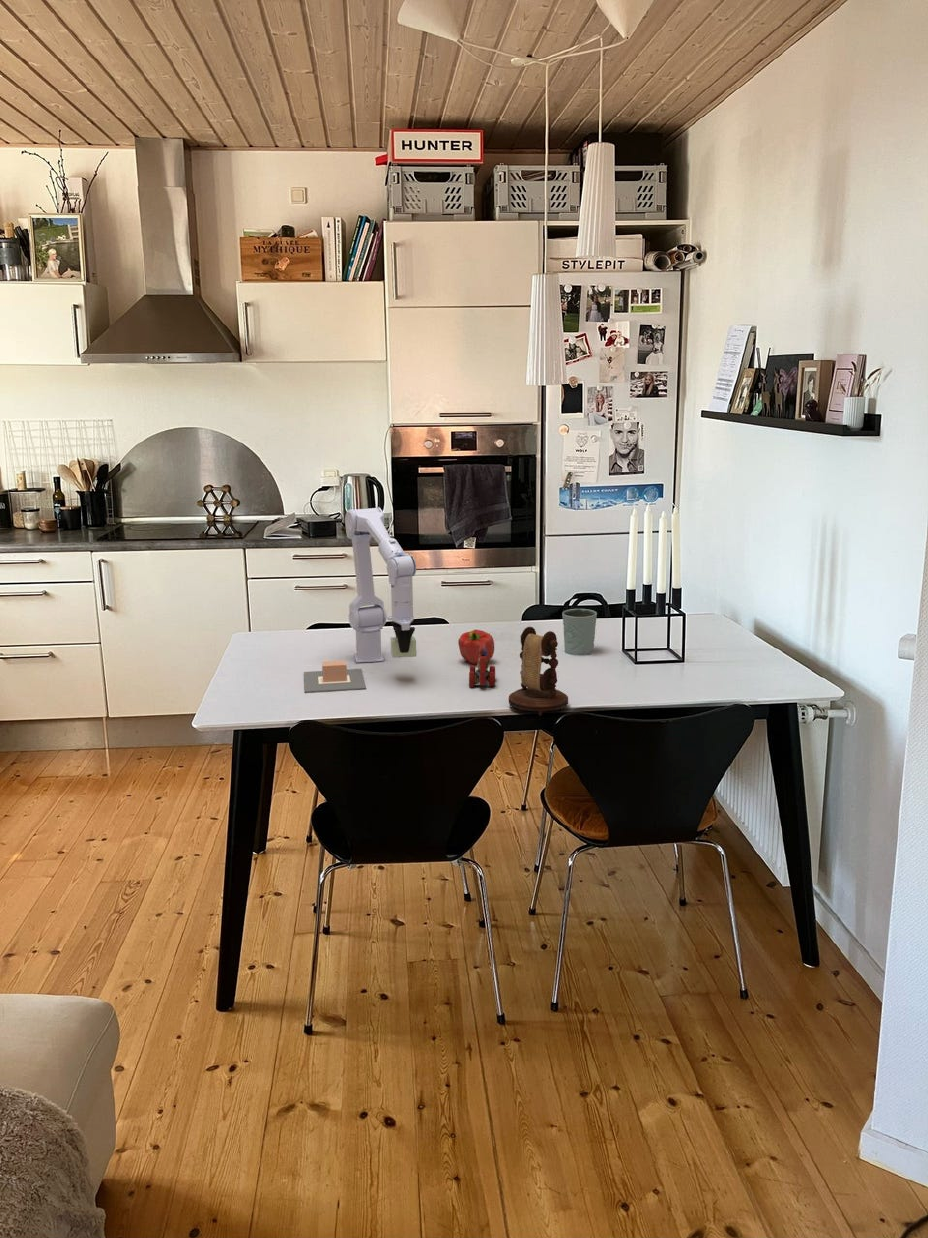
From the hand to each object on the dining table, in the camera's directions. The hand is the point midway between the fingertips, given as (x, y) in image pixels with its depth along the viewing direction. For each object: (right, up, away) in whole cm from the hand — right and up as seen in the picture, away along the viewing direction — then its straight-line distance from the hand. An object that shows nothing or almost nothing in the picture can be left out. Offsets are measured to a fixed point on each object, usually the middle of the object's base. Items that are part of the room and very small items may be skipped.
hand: (403, 649), depth 269 cm
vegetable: (+20, -4, +17) cm, 27 cm away
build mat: (-19, -9, +1) cm, 21 cm away
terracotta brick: (-19, -8, +1) cm, 20 cm away
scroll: (+35, -14, -22) cm, 43 cm away
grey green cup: (+51, -2, +27) cm, 57 cm away
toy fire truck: (+21, -9, -2) cm, 23 cm away
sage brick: (0, -1, 0) cm, 2 cm away
